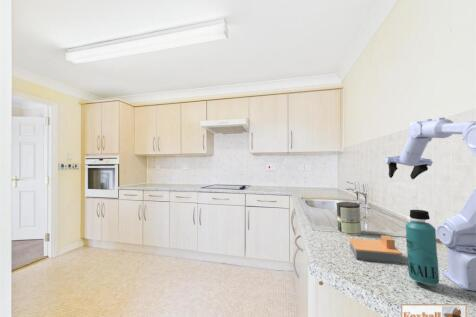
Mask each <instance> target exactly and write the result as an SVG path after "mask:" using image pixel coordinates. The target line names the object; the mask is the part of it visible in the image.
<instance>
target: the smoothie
mask: <svg viewBox="0 0 476 317" xmlns="http://www.w3.org/2000/svg"><path fill="white" fill-rule="evenodd" d="M415 208H416V209H415V210H419V208H418V206H416V207H415ZM406 219H407V221H408V222H407V223H409V222H410V221H421V222H426V221H427V220H421V219H414V218H410V215H407V216H406Z"/></svg>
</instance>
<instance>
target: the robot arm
mask: <svg viewBox="0 0 476 317" xmlns="http://www.w3.org/2000/svg"><path fill="white" fill-rule="evenodd" d="M407 129H408V130H407V134H408V135H409V136H408V138H407V140H406V143H405V145H404V147H403V149H402V152H401V154H400V155H397V156H396V155H394V156H387V157H386V158H385V160H384V161H385V163H386V164H387V165H388V166H387V167H388V176H389V178H390V179H391V178H393V176H394V175H395V172H397V170H398V169H399V168H398V167H397V164H399V165H403V166H407V167H413V168H412V171H411V173H410V175H409V176H410V178H411V180H415V179H416V178H417V177H419V175H421V174H423V173H425V172H427V171H428V170H429V167H432V165H433V163H434V162H433V160H432V159H431V158H424V157H422V156H423V153H424V151H426V150H425V149H426V147H427V145H428V143H429V142H431V141H432V140H433V139H446V138H449V137H451V136H452V135H462V137H461V139H462V140H463V141H464V143H465V145H466V147H467V148H468V150H470V152H471V153H472V155H473V156H474V157H475V158H476V120H472V121H470V120H469V121H461V122H459V121H458V122H454V121H452V120H451V119H447V118H446V117H437V118H436V119H431V118H429V119H425V120H420V121H419V120H418V121H417V120H415V121H411V123H410V124H409V126H408V128H407ZM436 236H437V238H438V239H439V241H440V242H441V243H442V244H443V246H445V247H446V254H447V255H446V257H447V270H440V273H441V274H443V275H444V276H445V277H447V278H448V279H449V280H450V281H452V282H453V283H454V284H456V285H457V286H458V287H460V288H461V289H463V290H466V291H475V292H476V186H475V187H474V188H473V190H472V192H471V194H469V197H468V198H467V200H466V201H465V203H464V205H463V207H462V208H461V210H460V212H459V213H457V214H455V215H453V216H450V217H447V218H445V219H444V221H443V222H441V223H439V224H438V225H437V227H436Z"/></svg>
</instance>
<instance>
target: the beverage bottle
mask: <svg viewBox="0 0 476 317" xmlns="http://www.w3.org/2000/svg"><path fill="white" fill-rule="evenodd" d="M429 213H430V212H429V211H427V210H423V209H418V210H416V209H410V210H409V216H410V218H414V219H421V220H426V221H427V220H430V214H429ZM426 221H425V222H421V221H410V222H407V223H406V224H405V237H406V238H405V243H406V251H407V253H406V257H407V272H408V276H409V278H411V279H412V280H414V281H415V282H418V283H421V284H424V285H429V286H435V285H438V284H439V283H440V280H441V278H440V276H441V275H440V272H439V268H440V264H439V257H438V250H437V237H436V236H437V228H436V227H435V226H433V225H432V224H431V223H429V222H426Z"/></svg>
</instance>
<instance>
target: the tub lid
mask: <svg viewBox="0 0 476 317" xmlns="http://www.w3.org/2000/svg"><path fill="white" fill-rule="evenodd" d="M380 236H381V237H380V238H381V240H377V239H375V240H374V239H363V238H361V239H360V238H348V241H349V243H350V242H351V244H352V246H353V247H354V249H355V251H362V252H373V253H385V254H396V255H401V256H403V252H402V251H400V250H399V249H398V248H397V247H396V244H395V242H396V241H395V239H393V237H391V236H390V235H380Z"/></svg>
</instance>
